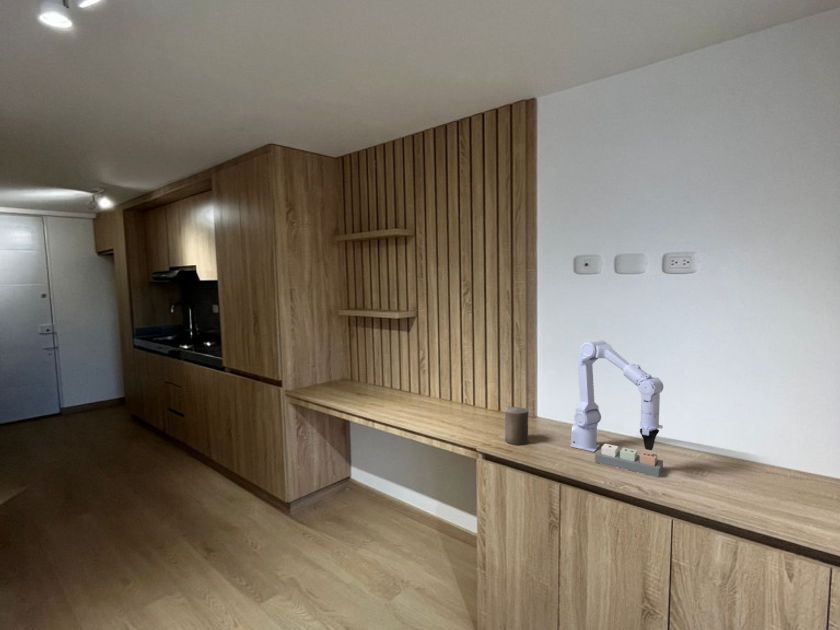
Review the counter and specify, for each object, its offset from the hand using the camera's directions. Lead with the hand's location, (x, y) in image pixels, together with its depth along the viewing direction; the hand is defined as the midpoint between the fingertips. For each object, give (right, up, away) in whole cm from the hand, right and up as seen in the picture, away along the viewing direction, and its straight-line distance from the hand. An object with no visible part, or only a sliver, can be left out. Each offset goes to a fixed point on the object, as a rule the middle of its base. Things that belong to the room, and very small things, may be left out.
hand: (648, 449), depth 154 cm
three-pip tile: (0, -6, 0) cm, 6 cm away
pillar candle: (-41, -6, +29) cm, 51 cm away
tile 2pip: (-5, -6, +4) cm, 9 cm away
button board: (-5, -7, +5) cm, 10 cm away
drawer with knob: (-10, -6, +8) cm, 14 cm away
